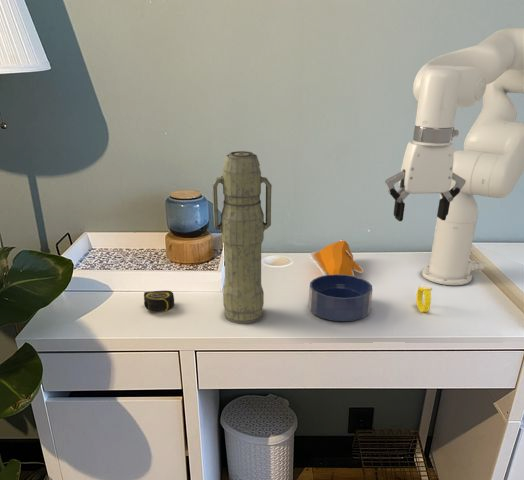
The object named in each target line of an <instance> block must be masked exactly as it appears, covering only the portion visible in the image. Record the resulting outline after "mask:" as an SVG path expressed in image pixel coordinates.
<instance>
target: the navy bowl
mask: <svg viewBox="0 0 524 480" xmlns="http://www.w3.org/2000/svg"><path fill="white" fill-rule="evenodd" d="M372 297H373V285H372V284H371V282H369V281H367V280H366V279H363V278H361V277H358V276H356V275H355V276H350V275H339V274H335V275H321V276H318V277H315V278H313V279H312V280H311V281H310V282H309V289H308V309H309V311H310V312H311V313H312V314H313V315H315V316H316V317H318V318H320V319H321V318H322V319H325V320H328V321H334V322H335V321H336V322H351V321H357V320H360V319H363V318H365V317H367V316H368V315H369V314H370V312H371V308H372V299H373V298H372Z"/></svg>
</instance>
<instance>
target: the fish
mask: <svg viewBox="0 0 524 480" xmlns="http://www.w3.org/2000/svg"><path fill="white" fill-rule="evenodd" d="M309 258H310V261H311V262H313V264H314V265H315V266H316V267H317V268H318V270H319V271H320V273H321V274H322V276H325V275H335V274H339V275H350V276H355V277H356V275H355V272H356V273H360V274H362V273H364V271H365V270H363V268H362V267H361V266H360V265H359V264H358V263H357V262H356V261H355V260H354V255H353V253H352V251H351V249H350V245H349V244H348V242H347V241H346V240H344V239H340V240H338V241H336V242H333V243H329V244H328V245H326V246H325V247H323V248H321V250H319V251H312V252H311V253H310V254H309Z"/></svg>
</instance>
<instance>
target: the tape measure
mask: <svg viewBox="0 0 524 480" xmlns="http://www.w3.org/2000/svg"><path fill="white" fill-rule="evenodd" d="M143 304H144V305H143V306H144V307H145V309H146V310H147V311H149V312H151V313H152V312H153V313H163V312H168V311H170V310H172V309H173V308H174V307H175V296H174V292H173V291H171V290H153V291H144V292H143Z"/></svg>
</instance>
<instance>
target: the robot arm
mask: <svg viewBox="0 0 524 480" xmlns="http://www.w3.org/2000/svg"><path fill="white" fill-rule="evenodd" d="M412 93H413V97H414V98H415V100H416V101H417V106H416V107H417V108H416V115H415V122H414V129H413V137H412V141H408V143H407V145H406V148H405V151H404V154H403V155H404V156H403V159H402V162H401V163H402V164H401V168H400V172H398V173H395V174H394V175H392V176H390V177H388V178H387V179H385V181H384V182H385V186H386V189H387V191H388V193H389V195H390V196H391V197H392V198H393V200H394V207H393V216H394V218H395V219H396V220H397V221H398V222H403V220H404V212H405V206H406V203H405V202H404V200H405V199H406V198H407V197H408V196H409V195H410V194H411V195H413V194H415V195H416V194H418V195H419V194H420V195H421V194H439V201H438V206H437V207H438V208H437V214H436V222H435V228H434V235H433V240H432V241H433V242H432V246H431V247H432V248H431V253H430V260H429V264H428V265H427V266H424V268H422V270H421V275H422V277H423V278H424V279H425V280H427V281H429V282H432V283H434V284H438V285H444V286H462V285H467V284H469V283H470V282H472V280H473V274H472V272H474V271H484V270H485V269H486V263H485V262H476V260H470V258H471V252H472V247H473V243H474V237H475V232H476V228H477V227H476V226H477V221H478V217H479V208H478V204H477V202H476V199H475V197H474V196H481V197H487V198H493V199H494V198H495V199H503V198H506V197H507V196H509V195H510V194H511V193H512V192H513V190H514V189H515V187H516V185H517V183H518V181H519V180H520V178H521V176H522V174H523V172H524V122H520V121H516V120H517V115H518V113H517V109H516V107H515V104H514V103H513V101H512V99H511V97H509V96H508V94H524V27H506V28H501V29H498V30H496V31H495V32H493V33H492V34H490V35H489V36H487V37H486V38H484V39H483V40H482V41H480V42H478V44H476V45H472V46H468V47H464V48H461V49H458V50H455V51H450V52H446V53H443V54H441V55H438V56H436V57H434V58H431V60H429V61H427V62H426V63H425V64H424V65H423V66H422V67H420V69H419V70H418V72H417V73H416V75H415V77H414V80H413V85H412ZM481 100H482V108H481V111H480V112H479V114H478V116H477V118H476V119H475V121H474V123H473V124H472V126H471V128H470V129H469V131H468V133H466V134H467V135H466V137H465V139H464V142H463V149H462V150H454V149H455V148H454V143H453V142H452V141H453V138H456V137H459V133H460V132H459V130H458V129H455V127H454V125H455V120H456V114H457V109H458V108H470V107H474V106H475V105H477V104H478V103H479V102H480V101H481ZM396 183H398V187H399V190H397V189H396V188H395V184H396Z"/></svg>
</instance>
